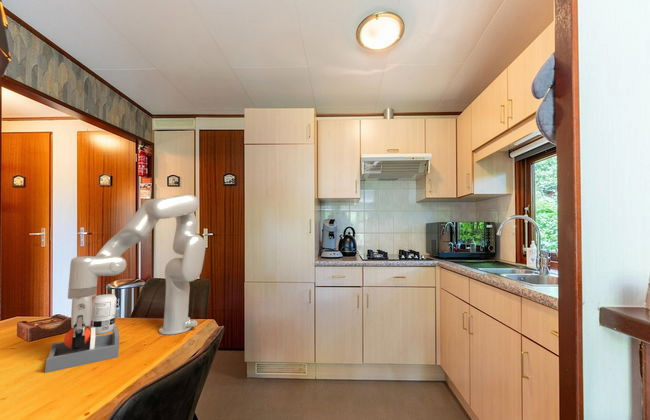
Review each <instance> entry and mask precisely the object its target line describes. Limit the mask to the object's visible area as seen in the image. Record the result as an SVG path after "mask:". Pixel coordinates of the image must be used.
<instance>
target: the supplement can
mask: <svg viewBox="0 0 650 420" xmlns="http://www.w3.org/2000/svg"><path fill="white" fill-rule="evenodd" d="M117 300H118V298H117V296H116V294H112V293H107V294H99V295H96V296H94V298H93V299H92V313H91V325H90V326H89V327H90V329H89V330H90V333H91V328H93V327H95V335H105V334H109V333H110V332H113V327H115V326H116V315H117V314H116V313H117Z"/></svg>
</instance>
